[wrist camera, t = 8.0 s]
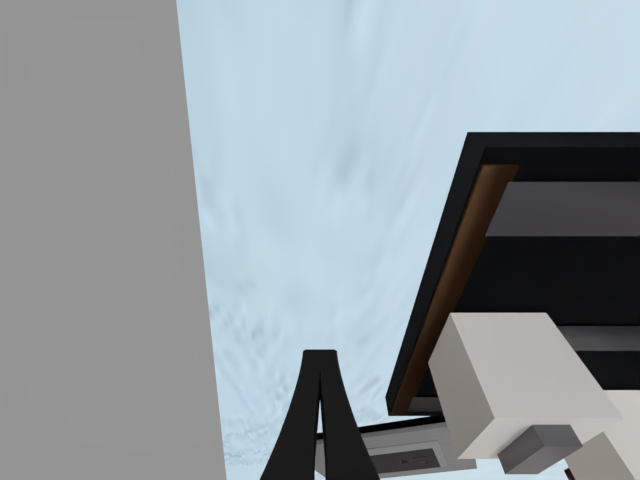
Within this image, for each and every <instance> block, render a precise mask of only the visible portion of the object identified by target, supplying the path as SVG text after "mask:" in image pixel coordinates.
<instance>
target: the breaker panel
mask: <svg viewBox="0 0 640 480" xmlns="http://www.w3.org/2000/svg"><path fill="white" fill-rule="evenodd" d="M450 313H547V314H548V316H549V317H550V319H551V320H552V321H553V323H554V324H555V325H556V327H557V328H558V329H559V331H560V332H561V334H562V335H563V336H564V338H565V339H566V340H567V342H568V343H569V344H570V346H571V347H572V348H573V350H574V351H575V353H576V354H577V355H578V357H579V358H580V359H581V361H582V362H583V363H584V365H585V366H586V367H587V369H588V370H589V372H590V373H591V374H592V376H593V377H594V378H595V380H596V381H597V382H598V384H599V385H600V387H601V388H602V389H603V390H640V132H467V135H466V138H465V141H464V145H463V148H462V151H461V154H460V158H459V161H458V164H457V167H456V170H455V174H454V177H453V180H452V183H451V187H450V190H449V193H448V196H447V199H446V203H445V206H444V209H443V212H442V216H441V219H440V222H439V225H438V228H437V232H436V235H435V238H434V241H433V245H432V248H431V251H430V254H429V257H428V261H427V264H426V267H425V270H424V274H423V277H422V280H421V283H420V286H419V290H418V293H417V296H416V299H415V303H414V306H413V309H412V312H411V315H410V319H409V322H408V325H407V328H406V332H405V335H404V338H403V341H402V344H401V348H400V351H399V354H398V357H397V361H396V364H395V367H394V370H393V373H392V377H391V380H390V383H389V386H388V390H387V393H386V396H385V399H386V405H387V411H388V416H444V414H443V410H442V407H441V404H440V400H439V397H438V394H437V390H436V387H435V384H434V381H433V377H432V374H431V371H430V367H429V364H428V362H429V360H430V357H431V355H432V353H433V350H434V348H435V346H436V344H437V341H438V339H439V337H440V335H441V332H442V330H443V328H444V326H445V323H446V321H447V319H448V317H449V314H450Z"/></svg>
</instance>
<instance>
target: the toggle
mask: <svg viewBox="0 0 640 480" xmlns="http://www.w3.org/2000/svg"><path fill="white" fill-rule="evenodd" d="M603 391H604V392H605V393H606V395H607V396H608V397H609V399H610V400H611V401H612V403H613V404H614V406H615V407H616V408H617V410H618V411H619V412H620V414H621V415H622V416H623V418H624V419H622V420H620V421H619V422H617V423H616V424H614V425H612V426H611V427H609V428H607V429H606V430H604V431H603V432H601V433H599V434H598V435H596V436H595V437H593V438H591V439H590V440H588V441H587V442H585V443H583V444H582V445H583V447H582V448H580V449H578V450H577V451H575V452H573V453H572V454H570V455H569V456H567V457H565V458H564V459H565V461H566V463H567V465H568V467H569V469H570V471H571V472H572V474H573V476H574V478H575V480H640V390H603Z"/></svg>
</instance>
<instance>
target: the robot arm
mask: <svg viewBox="0 0 640 480" xmlns="http://www.w3.org/2000/svg"><path fill="white" fill-rule="evenodd" d="M319 406H321V419H322V431H323V444H324V456H325V480H380V478H379V476H378V473H377V471H376V469H375V467H374V465H373V462H372V460H371V458H370V455H369V453H368V451H367V448H366V446H365V444H364V441H363V439H362V436H361V434H360V431H359V428H358V426H357V423H356V421H355V418H354V415H353V412H352V409H351V406H350V403H349V400H348V397H347V394H346V391H345V387H344V383H343V380H342V376H341V372H340V367H339V362H338V356H337V351H336V350H335V349H305V350H304V351H303V355H302V362H301V367H300V372H299V376H298V380H297V383H296V387H295V390H294V393H293V397H292V400H291V403H290V406H289V409H288V412H287V415H286V417H285V420H284V423H283V426H282V428H281V431H280V434H279V436H278V439H277V441H276V444H275V446H274V448H273V451H272V453H271V455H270V458H269V460H268V462H267V464H266V467H265V469H264V471H263V473H262V475H261V477H260V480H315V456H316V444H317V431H318V419H319Z"/></svg>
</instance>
